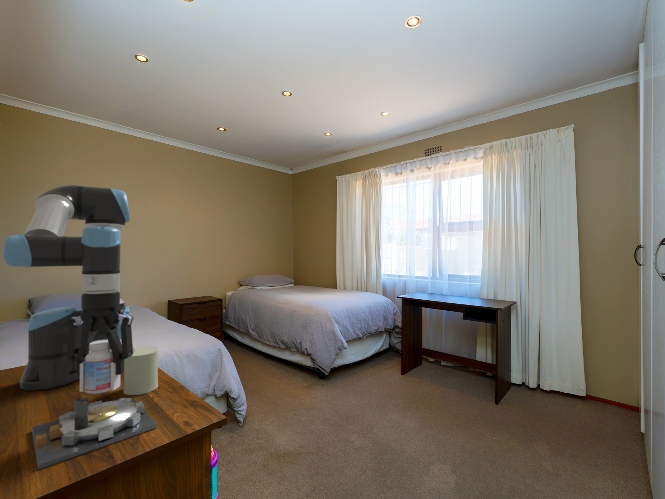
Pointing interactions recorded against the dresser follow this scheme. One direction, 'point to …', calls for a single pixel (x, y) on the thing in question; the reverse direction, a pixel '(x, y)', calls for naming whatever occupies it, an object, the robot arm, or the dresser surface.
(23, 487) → the dresser surface
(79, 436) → the sprocket
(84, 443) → the base plate
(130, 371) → the pale green cylinder
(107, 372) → the pill bottle
